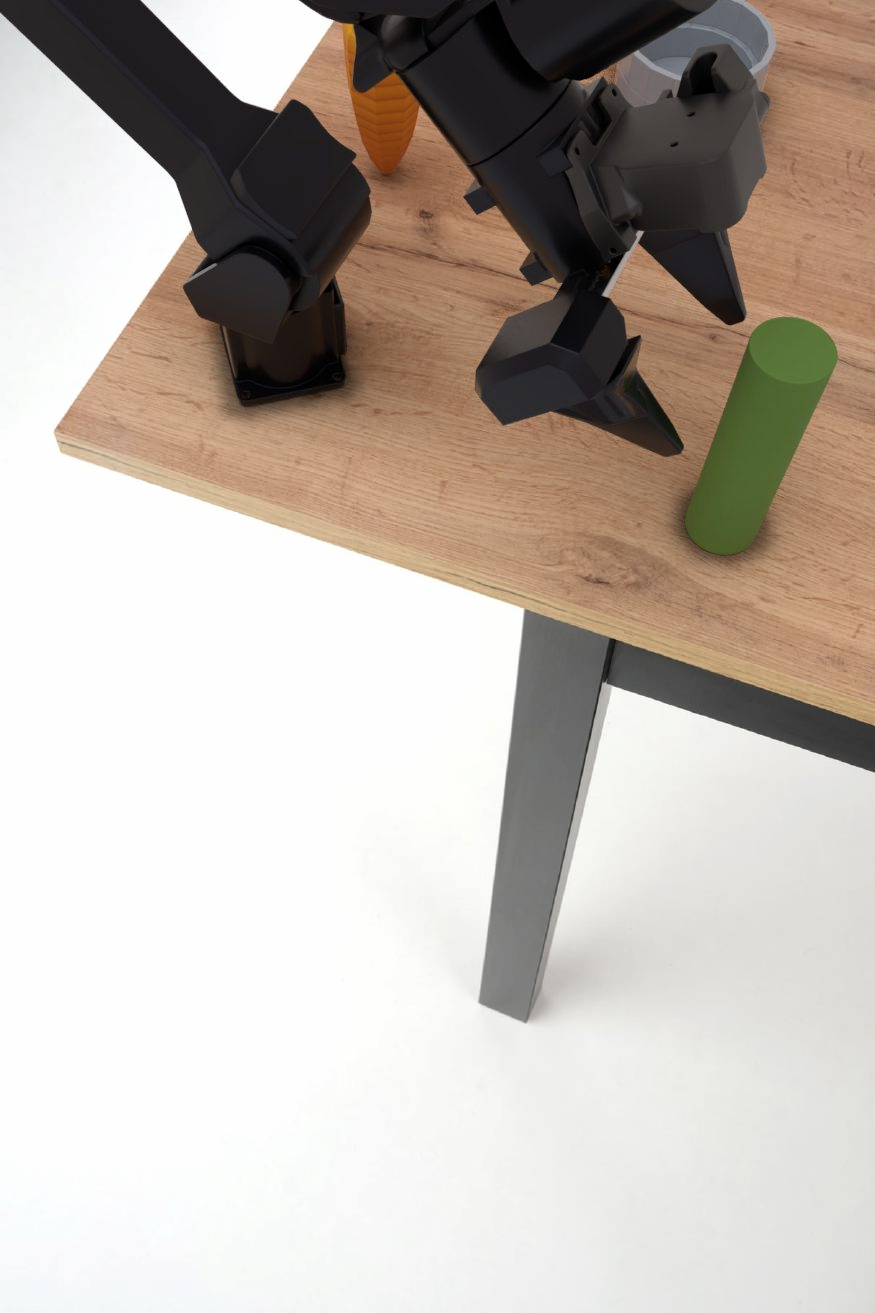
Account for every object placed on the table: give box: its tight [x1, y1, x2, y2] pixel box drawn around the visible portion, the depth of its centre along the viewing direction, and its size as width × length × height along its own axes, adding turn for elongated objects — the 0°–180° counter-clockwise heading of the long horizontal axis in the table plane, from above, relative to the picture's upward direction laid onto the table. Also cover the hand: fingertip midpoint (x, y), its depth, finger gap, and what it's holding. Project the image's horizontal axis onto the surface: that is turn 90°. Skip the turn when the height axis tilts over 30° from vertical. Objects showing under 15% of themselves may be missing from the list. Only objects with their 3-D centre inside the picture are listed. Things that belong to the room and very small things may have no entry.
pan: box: [613, 0, 777, 107], centre depth 80 cm, size 10×10×5 cm
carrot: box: [341, 23, 420, 175], centre depth 71 cm, size 5×5×15 cm
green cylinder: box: [684, 316, 839, 556], centre depth 59 cm, size 4×4×14 cm
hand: (707, 384), depth 57 cm, fingers open, 9 cm apart
